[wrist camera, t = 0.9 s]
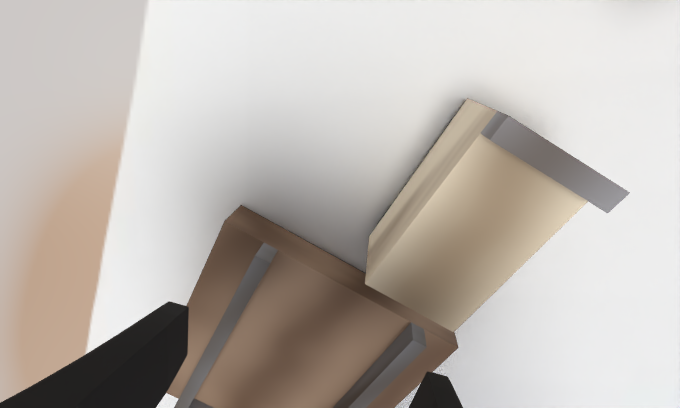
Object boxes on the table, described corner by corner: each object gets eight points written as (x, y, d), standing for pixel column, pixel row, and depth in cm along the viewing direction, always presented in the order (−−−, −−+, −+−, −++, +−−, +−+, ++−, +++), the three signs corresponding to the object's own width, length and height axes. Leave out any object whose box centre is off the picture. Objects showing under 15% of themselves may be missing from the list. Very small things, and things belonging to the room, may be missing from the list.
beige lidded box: (544, 147, 15) (629, 192, 10) (437, 269, 18) (458, 351, 13) (464, 96, 14) (508, 115, 9) (369, 231, 17) (363, 300, 12)
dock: (451, 320, 19) (463, 366, 16) (331, 440, 25) (325, 489, 22) (240, 205, 18) (212, 232, 15) (168, 360, 24) (138, 402, 21)
